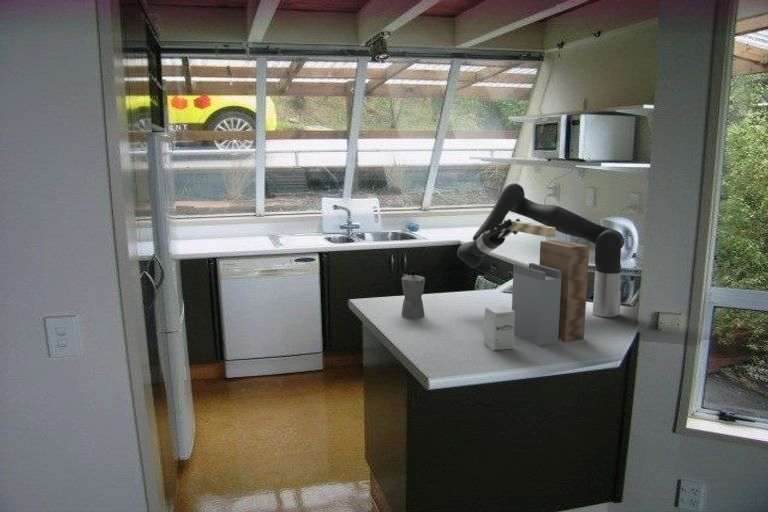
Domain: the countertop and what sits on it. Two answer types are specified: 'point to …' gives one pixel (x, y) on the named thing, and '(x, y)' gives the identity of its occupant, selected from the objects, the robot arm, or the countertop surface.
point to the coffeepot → (412, 295)
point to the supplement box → (499, 328)
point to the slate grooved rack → (536, 303)
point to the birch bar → (532, 228)
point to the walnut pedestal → (569, 284)
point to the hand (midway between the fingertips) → (515, 221)
